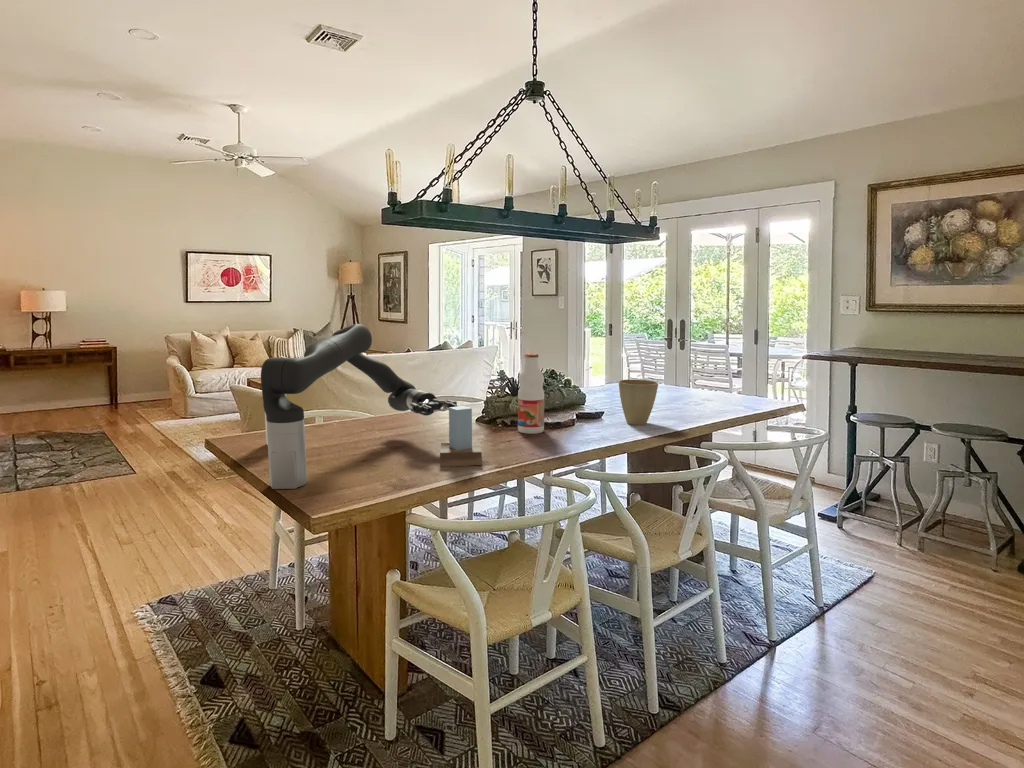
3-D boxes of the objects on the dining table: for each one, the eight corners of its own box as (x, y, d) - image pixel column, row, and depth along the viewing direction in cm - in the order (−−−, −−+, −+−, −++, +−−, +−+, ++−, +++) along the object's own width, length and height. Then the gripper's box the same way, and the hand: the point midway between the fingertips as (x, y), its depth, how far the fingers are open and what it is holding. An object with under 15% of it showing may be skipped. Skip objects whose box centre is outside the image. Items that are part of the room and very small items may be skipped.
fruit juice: (548, 432, 236) (549, 354, 232) (525, 435, 232) (526, 355, 228) (535, 427, 244) (536, 352, 240) (513, 430, 240) (513, 353, 236)
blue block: (457, 450, 193) (456, 409, 192) (449, 446, 198) (448, 407, 196) (472, 448, 196) (471, 408, 194) (464, 444, 200) (463, 405, 199)
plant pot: (641, 429, 242) (642, 386, 240) (609, 422, 253) (610, 381, 251) (664, 423, 252) (666, 382, 250) (633, 417, 263) (634, 378, 261)
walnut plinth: (481, 465, 192) (481, 452, 191) (440, 466, 191) (439, 452, 191) (480, 455, 204) (480, 442, 203) (441, 455, 203) (441, 443, 202)
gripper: (401, 392, 214) (422, 399, 200) (441, 389, 221) (464, 395, 208) (401, 415, 215) (422, 423, 201) (441, 411, 222) (464, 419, 209)
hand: (443, 409), depth 205 cm, fingers open, 8 cm apart
